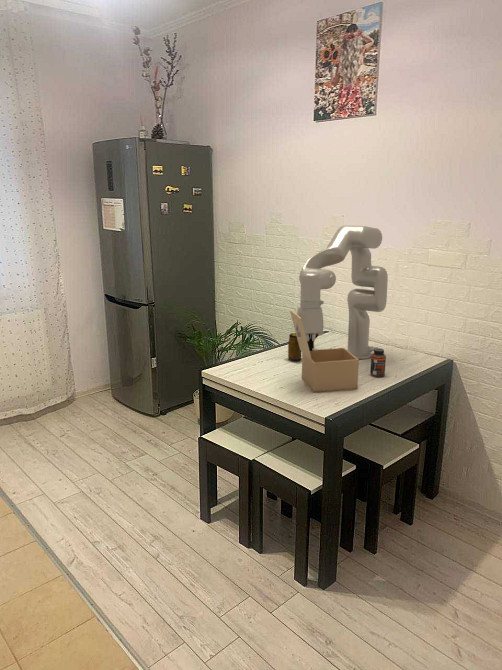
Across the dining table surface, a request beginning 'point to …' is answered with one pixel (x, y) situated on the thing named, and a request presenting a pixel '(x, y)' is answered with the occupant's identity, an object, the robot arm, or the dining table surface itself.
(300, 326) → the lid flap
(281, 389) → the dining table surface
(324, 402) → the dining table surface
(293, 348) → the condiment
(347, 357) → the carton
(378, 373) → the supplement bottle
